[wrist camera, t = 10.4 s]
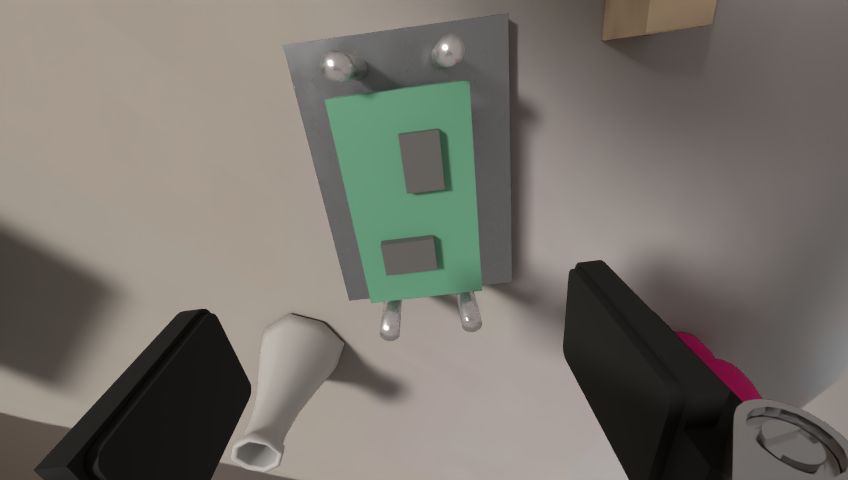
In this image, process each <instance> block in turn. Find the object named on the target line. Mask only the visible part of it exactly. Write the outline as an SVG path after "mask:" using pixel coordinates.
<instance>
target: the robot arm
mask: <svg viewBox="0 0 848 480" xmlns="http://www.w3.org/2000/svg"><path fill="white" fill-rule="evenodd" d="M563 351H564V356H565V359H566V361H567V363H568V365H569V367H570V369H571V371H572V372H573V374H574V376H575V378H576V380H577V382H578V384H579V386H580V388H581V389H582V391H583V393H584V395H585V397H586V399H587V401H588V403H589V405H590V407H591V408H592V410H593V412H594V414H595V416H596V418H597V420H598V422H599V424H600V425H601V427H602V429H603V431H604V433H605V435H606V437H607V439H608V441H609V442H610V444H611V446H612V448H613V450H614V452H615V454H616V456H617V458H618V460H619V461H620V463H621V465H622V467H623V469H624V471H625V473H626V475H627V477H628V478H629V480H848V441H847V439H846V438H845V437H844V436H843V435H841V434H840V433H839V432H838V431H836V430H835V429H834V428H832V427H831V426H830V425H829V424H827V423H826V422H824V421H822V420H820V419H819V418H817V417H815V416H813V415H812V414H810V413H808V412H806V411H804V410H801V409H799V408H797V407H794V406H792V405H789V404H785V403H781V402H778V401H774V400H764V399H754V400H749V401H744V402H743V401H742V400H741V399H740V398H739V397H738V396H737V395H736V394H735V393H734V392H733V391H732V390H731V389H730V388H729V387H728V386H727V385H726V384H725V383H724V382H723V381H722V380H721V379H720V378H719V377H718V376H717V375H716V374H715V373H714V372H713V371H712V370H711V369H710V368H709V367H708V366H707V365H706V364H705V363H704V362H703V361H702V360H701V359H700V358H699V357H698V356H697V355H696V354H695V353H694V352H693V351H692V350H691V349H690V348H689V347H688V346H687V345H686V344H685V343H684V341H683V340H682V339H681V338H680V337H679V336H678V335H677V334H676V333H675V332H674V331H673V330H672V329H671V328H670V327H669V326H668V325H667V324H666V323H665V322H664V321H663V320H662V319H661V318H660V317H659V316H658V315H657V314H656V313H655V312H654V311H652V310H651V309H650V308H649V307H648V306H647V305H646V304H645V303H644V302H643V301H642V300H641V299H640V298H639V297H638V296H637V295H636V294H635V293H634V292H633V291H632V290H631V289H630V288H629V287H628V286H627V285H626V284H625V283H624V282H623V281H622V280H621V279H620V278H619V277H618V276H617V274H616V273H615V272H614V271H613V270H612V269H611V268H610V267H609V266H608V265H607V264H606V263H605V262H603V261H602V260H597V261H588V262H580V263H578V264H577V265H576V267H575V269H571V270H570V272H569V279H568V292H567V304H566V316H565V329H564V341H563ZM250 395H251V384H250V382H249V380H248V378H247V376H246V374H245V372H244V370H243V368H242V366H241V364H240V362H239V360H238V358H237V356H236V354H235V352H234V350H233V348H232V346H231V344H230V342H229V340H228V338H227V336H226V334H225V332H224V330H223V328H222V325H221V323H220V321H219V319H218V318H217V316H216V315H215V314H212V313H210V311H208V310H207V309H198V310H190V311H183V312H180V313H179V314H177V315H176V316H175V317H174V319H173V320H172V321H171V322H170V323H169V324H168V325H167V326H166V327H165V328H164V329H163V330H162V332H161V333H160V334H159V335H158V336H157V337H156V338H155V339H154V340H153V341H152V342H151V343H150V345H149V346H148V347H147V348H146V349H145V350H144V351H143V352H142V353H141V354H140V355H139V356H138V358H137V359H136V360H135V361H134V362H133V363H132V364H131V365H130V366H129V367H128V368H127V369H126V371H125V372H124V373H123V374H122V375H121V376H120V377H119V378H118V379H117V380H116V381H115V382H114V384H113V385H112V386H111V387H110V388H109V389H108V390H107V391H106V392H105V393H104V394H103V395H102V397H101V398H100V399H99V400H98V401H97V402H96V403H95V404H94V405H93V406H92V407H91V408H90V410H89V411H88V412H87V413H86V414H85V415H84V416H83V417H82V418H81V419H80V420H79V421H78V423H77V424H76V425H75V426H74V427H73V428H72V429H71V430H70V431H69V432H68V433H67V434H66V436H65V437H64V438H63V439H62V440H61V441H60V442H59V443H58V444H57V445H56V446H55V448H54V449H53V450H52V451H51V452H50V453H49V454H48V455H47V456H46V457H45V458H44V459H43V461H42V462H41V463H40V464H39V465H38V466H37V467H36V468H35V469H34V471H35V472H36V473H37V474H38V475H39V476H40V477H41V478H42V479H44V480H211V478H212V476H213V474H214V472H215V469H216V467H217V465H218V463H219V461H220V459H221V457H222V455H223V453H224V451H225V448H226V446H227V444H228V442H229V440H230V438H231V436H232V434H233V432H234V430H235V427H236V425H237V423H238V421H239V419H240V417H241V415H242V413H243V411H244V409H245V407H246V404H247V402H248V400H249V398H250Z"/></svg>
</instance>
